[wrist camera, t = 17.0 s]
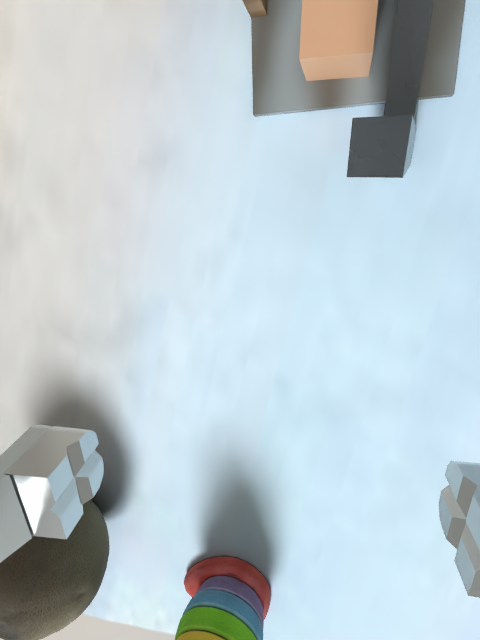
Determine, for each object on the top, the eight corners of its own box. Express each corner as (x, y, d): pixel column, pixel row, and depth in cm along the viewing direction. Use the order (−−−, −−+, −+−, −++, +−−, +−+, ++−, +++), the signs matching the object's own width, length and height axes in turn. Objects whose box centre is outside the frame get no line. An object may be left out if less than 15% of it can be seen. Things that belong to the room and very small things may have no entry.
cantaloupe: (78, 552, 53) (-18, 675, 39) (27, 471, 50) (-92, 570, 37) (154, 539, 48) (75, 676, 34) (102, 448, 45) (-5, 554, 32)
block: (306, 80, 28) (299, 58, 23) (310, 9, 26) (303, -28, 22) (368, 76, 26) (373, 52, 22) (376, 0, 25) (382, -40, 21)
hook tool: (304, 165, 31) (233, 175, 19) (314, -39, 25) (225, -198, 14) (410, 165, 28) (402, 177, 16) (449, -68, 22) (479, -305, 11)
